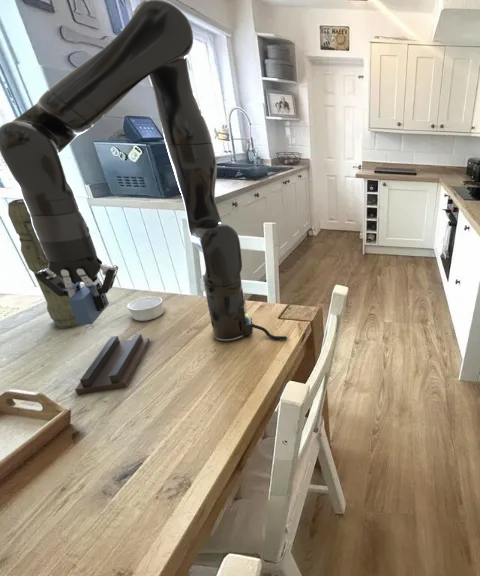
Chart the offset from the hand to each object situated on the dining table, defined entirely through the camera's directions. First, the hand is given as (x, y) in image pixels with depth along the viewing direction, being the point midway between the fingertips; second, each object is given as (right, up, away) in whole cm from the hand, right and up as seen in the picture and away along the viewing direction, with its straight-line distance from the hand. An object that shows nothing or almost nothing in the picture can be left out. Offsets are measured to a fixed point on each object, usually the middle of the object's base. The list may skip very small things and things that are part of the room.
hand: (93, 309), depth 71 cm
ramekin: (-9, -4, +30) cm, 31 cm away
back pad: (0, -1, 0) cm, 1 cm away
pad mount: (-2, -14, +8) cm, 17 cm away
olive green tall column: (-28, -5, +25) cm, 37 cm away
